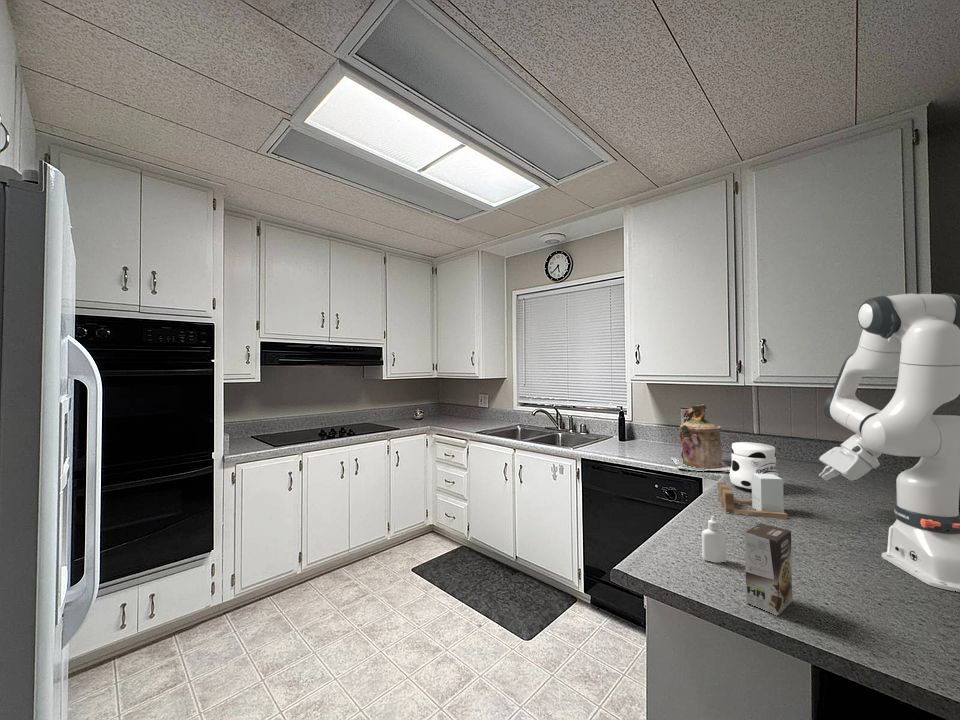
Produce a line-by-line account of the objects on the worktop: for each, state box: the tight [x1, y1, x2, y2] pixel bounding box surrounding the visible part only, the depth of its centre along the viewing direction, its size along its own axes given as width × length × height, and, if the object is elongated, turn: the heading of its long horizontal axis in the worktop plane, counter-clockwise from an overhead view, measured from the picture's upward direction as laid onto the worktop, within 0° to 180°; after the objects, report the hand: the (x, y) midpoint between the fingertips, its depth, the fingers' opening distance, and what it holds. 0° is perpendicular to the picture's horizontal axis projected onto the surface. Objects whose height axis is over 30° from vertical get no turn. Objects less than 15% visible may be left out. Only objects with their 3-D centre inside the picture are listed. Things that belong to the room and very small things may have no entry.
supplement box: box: [751, 473, 785, 513], centre depth 146 cm, size 7×7×13 cm
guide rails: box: [727, 498, 789, 520], centre depth 148 cm, size 13×18×2 cm
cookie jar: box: [670, 404, 731, 473], centre depth 208 cm, size 25×25×32 cm
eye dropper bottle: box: [701, 515, 727, 563], centre depth 112 cm, size 4×6×12 cm
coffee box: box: [744, 522, 793, 617], centre depth 92 cm, size 9×6×16 cm
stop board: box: [717, 482, 735, 514], centre depth 151 cm, size 13×2×7 cm, turn 160°
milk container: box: [729, 441, 779, 492], centre depth 172 cm, size 17×17×18 cm
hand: (822, 478), depth 141 cm, fingers closed
